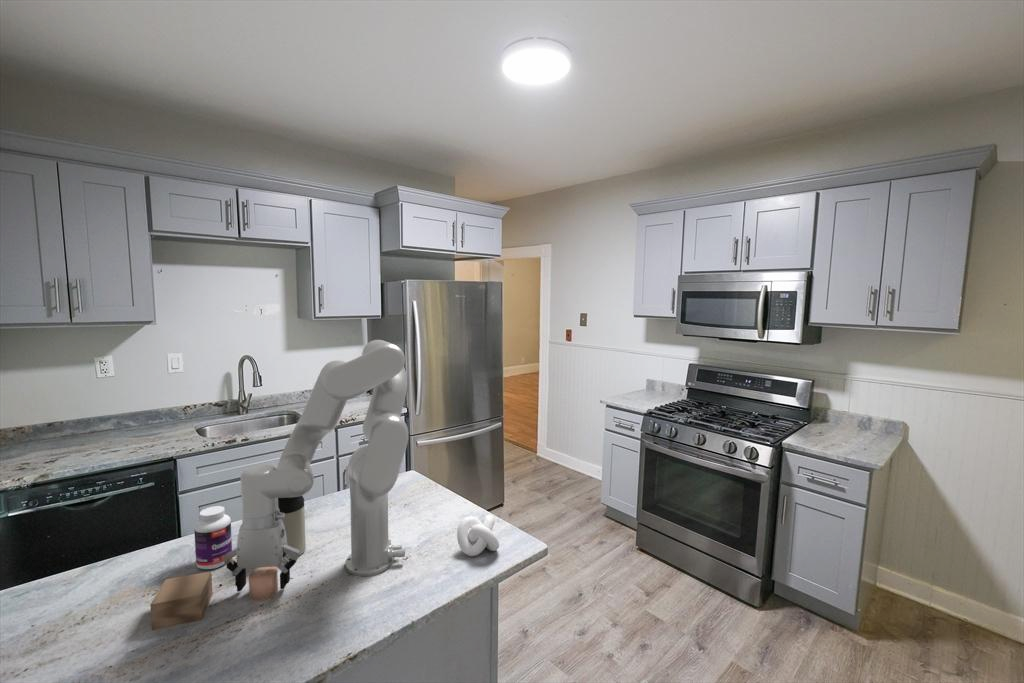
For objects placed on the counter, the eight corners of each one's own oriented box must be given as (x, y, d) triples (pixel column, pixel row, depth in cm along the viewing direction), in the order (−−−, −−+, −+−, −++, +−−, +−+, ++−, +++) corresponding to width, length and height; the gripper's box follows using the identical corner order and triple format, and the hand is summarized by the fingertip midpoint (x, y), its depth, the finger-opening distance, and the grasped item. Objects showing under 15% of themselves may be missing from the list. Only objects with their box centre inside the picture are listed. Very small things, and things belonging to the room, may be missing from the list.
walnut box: (212, 595, 107) (211, 571, 106) (202, 620, 99) (200, 594, 98) (167, 603, 104) (165, 579, 103) (152, 630, 95) (150, 604, 95)
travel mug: (278, 564, 119) (275, 499, 117) (270, 551, 125) (268, 489, 123) (309, 553, 124) (307, 491, 123) (300, 541, 130) (298, 481, 128)
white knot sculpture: (510, 548, 128) (510, 519, 127) (481, 567, 119) (481, 535, 118) (481, 535, 135) (481, 506, 134) (452, 552, 126) (452, 521, 125)
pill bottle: (214, 573, 115) (211, 519, 113) (188, 569, 116) (185, 516, 115) (239, 556, 123) (237, 505, 121) (214, 552, 124) (212, 502, 123)
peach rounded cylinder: (281, 583, 111) (281, 564, 111) (272, 600, 105) (271, 580, 105) (256, 585, 110) (255, 566, 110) (244, 601, 105) (244, 581, 104)
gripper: (304, 509, 111) (306, 575, 112) (229, 512, 109) (232, 579, 110) (293, 525, 103) (295, 594, 105) (213, 528, 101) (216, 599, 103)
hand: (263, 586), depth 108 cm, fingers open, 9 cm apart
